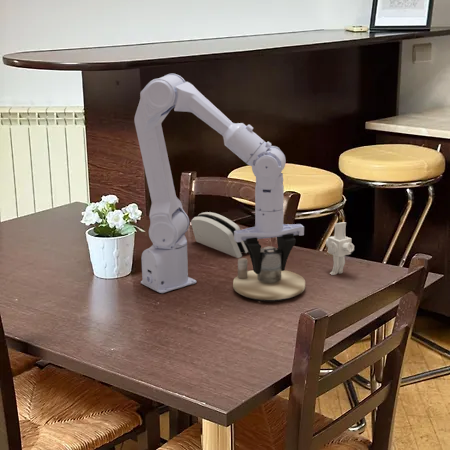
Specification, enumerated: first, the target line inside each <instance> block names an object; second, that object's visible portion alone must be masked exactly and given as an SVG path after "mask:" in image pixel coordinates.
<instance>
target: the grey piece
mask: <svg viewBox="0 0 450 450" xmlns="http://www.w3.org/2000/svg"><path fill="white" fill-rule="evenodd" d="M190 224H191V228H192V231H193V235H194V237H195V238H194V239H195V242H196V243H199V244H201V245H204V246H205V247H209V248H211V249H214V250H217V251H218V252H221V253H224V254H226V255H229V256H231V257H234V258H236V259H240V258H243V254H247V253H249V252H248V250H247V248H246V246H245V244H244V242H243V241H242V242H236V241H235V240H234V231H236V230H241V228H240V226H239V224H237V223H235V222H234V221H233V220H231V219H230V218H227V217H225V216H224V215H221V214H219V213H216V212H211V211H209V212H208V211H205V212H201V213H199V214H198V215H197V216H194V217H193V218H192V219H190Z"/></svg>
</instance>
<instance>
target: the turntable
mask: <svg viewBox="0 0 450 450" xmlns="http://www.w3.org/2000/svg"><path fill="white" fill-rule="evenodd" d="M232 283H233V284H232V287H233V290H234V291H235V292H236V293H238V294H239V295H241V296H243V297H245V296H246V297H245V298H247V297H249V298H254V299H261V300H279V299H286V298H290V297H292V298H293V297H296V296H298V295H301V294H302V293H303V292H304V291H305V289H306V280H305V278H304V277H303V276H302V275H300V274H298V273H296V272H293V271H290V270H284V271H281V280H280V281H278V282H274V283H266V282H261V281H259V280H258V279H257V274H256V273H255V272H254V271H253V270H248V259H247V258H245V257H240V258H237V276H235V277H234V279H233V281H232ZM249 298H248V299H249ZM290 299H291V298H290Z"/></svg>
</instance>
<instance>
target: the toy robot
mask: <svg viewBox="0 0 450 450" xmlns="http://www.w3.org/2000/svg"><path fill="white" fill-rule="evenodd" d="M346 226H347V222H345V221H343V222H337V223H336V222H335V223H334V235H333V236H332V235H331V236H328V237H327V238H326V240H325V246H326V247H327V253H328V254H329V255H332V261H333V264H332V265H333V267H332V270H331V271H330V272H329V274H331V276H335V275H337V274H343V273H344V272H343V271H344V267H345V264H346V258H345V257H346V256H349V255H352V253H353V252H354V251H355V245H354V244H353V243H352V238H351V237H348V236H346Z"/></svg>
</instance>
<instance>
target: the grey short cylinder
mask: <svg viewBox="0 0 450 450" xmlns="http://www.w3.org/2000/svg"><path fill="white" fill-rule="evenodd" d="M281 270H282V250H281V249H278V247H275V246H265V247H261V251H260V274H257V279H258V280H259V281H261V282H266V283H274V282H278V281H280V280H281Z"/></svg>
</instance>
